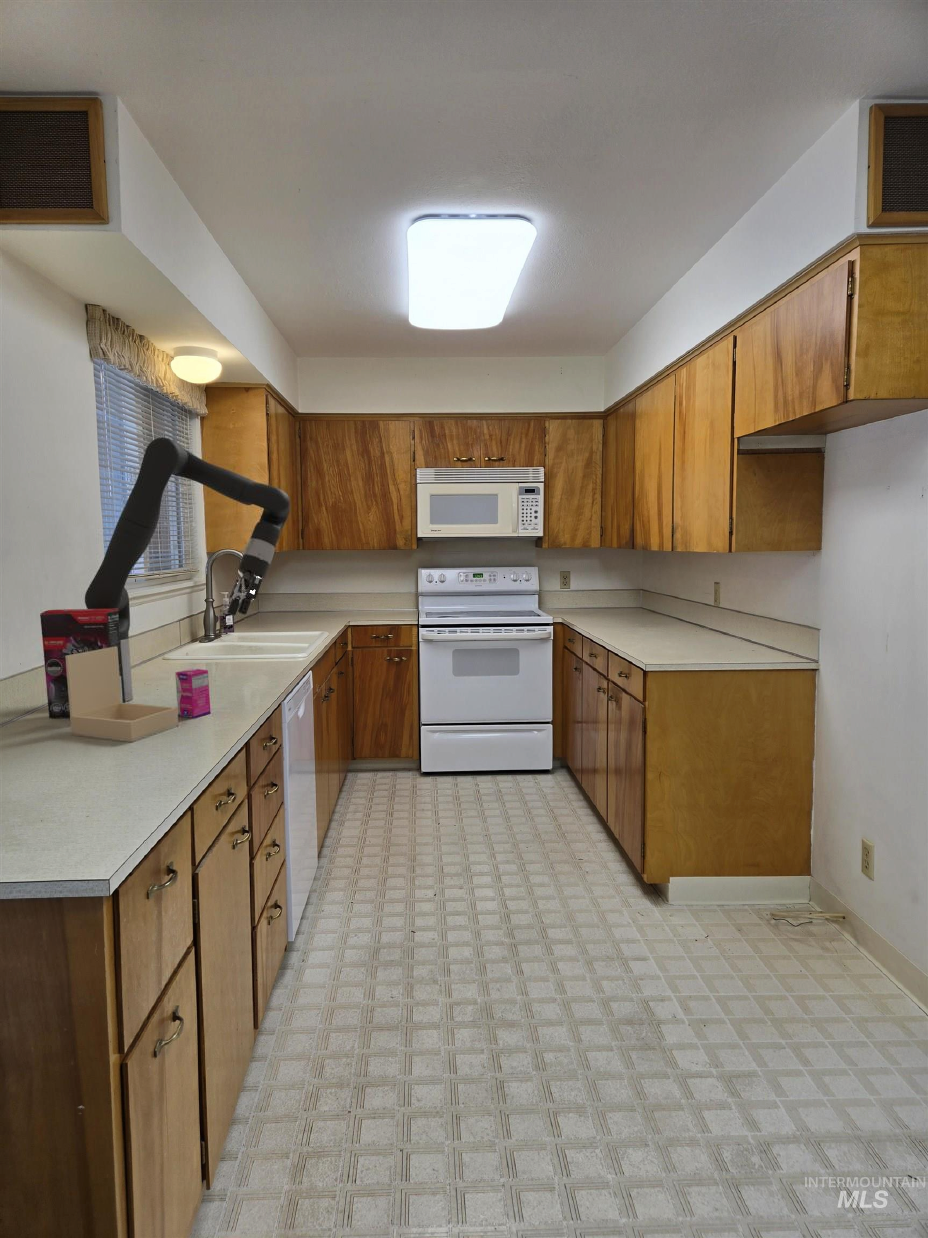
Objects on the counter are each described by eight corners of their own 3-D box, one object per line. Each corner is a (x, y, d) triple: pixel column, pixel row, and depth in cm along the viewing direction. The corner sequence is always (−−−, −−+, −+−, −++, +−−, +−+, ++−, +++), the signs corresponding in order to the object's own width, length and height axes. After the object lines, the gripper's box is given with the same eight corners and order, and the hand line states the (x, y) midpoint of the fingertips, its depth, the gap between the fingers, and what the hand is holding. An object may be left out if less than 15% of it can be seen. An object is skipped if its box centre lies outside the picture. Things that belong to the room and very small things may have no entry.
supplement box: (177, 716, 177) (174, 671, 176) (195, 711, 183) (193, 667, 181) (193, 719, 175) (190, 673, 173) (211, 713, 180) (209, 669, 179)
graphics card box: (46, 719, 176) (37, 611, 173) (61, 713, 183) (52, 608, 180) (115, 718, 176) (107, 610, 173) (127, 711, 183) (120, 607, 180)
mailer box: (71, 735, 161) (65, 655, 159) (120, 720, 174) (115, 646, 172) (132, 742, 155) (126, 659, 153) (178, 726, 168) (173, 649, 166)
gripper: (235, 555, 196) (214, 610, 192) (253, 550, 184) (231, 607, 180) (260, 566, 200) (240, 619, 196) (279, 561, 188) (258, 618, 184)
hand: (236, 614), depth 188 cm, fingers open, 8 cm apart
